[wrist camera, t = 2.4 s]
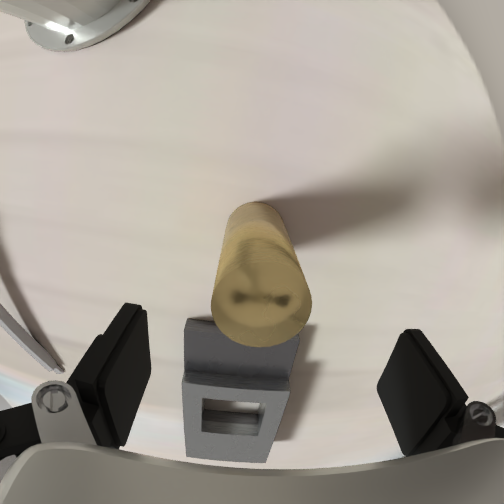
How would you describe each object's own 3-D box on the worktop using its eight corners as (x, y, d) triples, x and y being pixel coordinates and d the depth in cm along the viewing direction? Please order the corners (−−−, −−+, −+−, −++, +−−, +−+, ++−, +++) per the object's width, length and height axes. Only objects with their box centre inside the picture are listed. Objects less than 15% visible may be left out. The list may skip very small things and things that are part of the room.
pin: (229, 199, 20) (214, 256, 11) (288, 205, 20) (321, 268, 11) (223, 253, 22) (208, 342, 12) (279, 259, 22) (300, 350, 13)
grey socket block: (187, 318, 24) (180, 341, 21) (297, 329, 24) (302, 352, 22) (189, 436, 30) (186, 456, 28) (264, 443, 31) (265, 462, 28)
